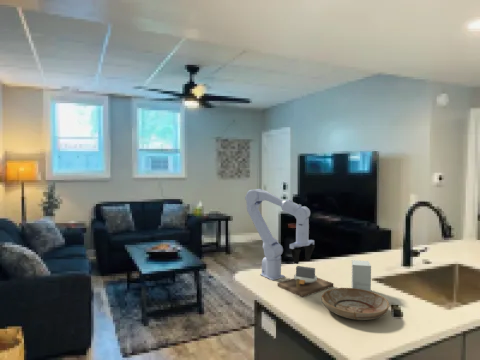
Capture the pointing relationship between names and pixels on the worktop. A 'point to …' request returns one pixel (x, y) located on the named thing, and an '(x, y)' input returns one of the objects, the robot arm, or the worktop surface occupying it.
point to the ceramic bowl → (355, 303)
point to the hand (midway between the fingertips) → (302, 261)
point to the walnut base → (304, 286)
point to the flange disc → (305, 274)
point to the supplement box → (361, 275)
